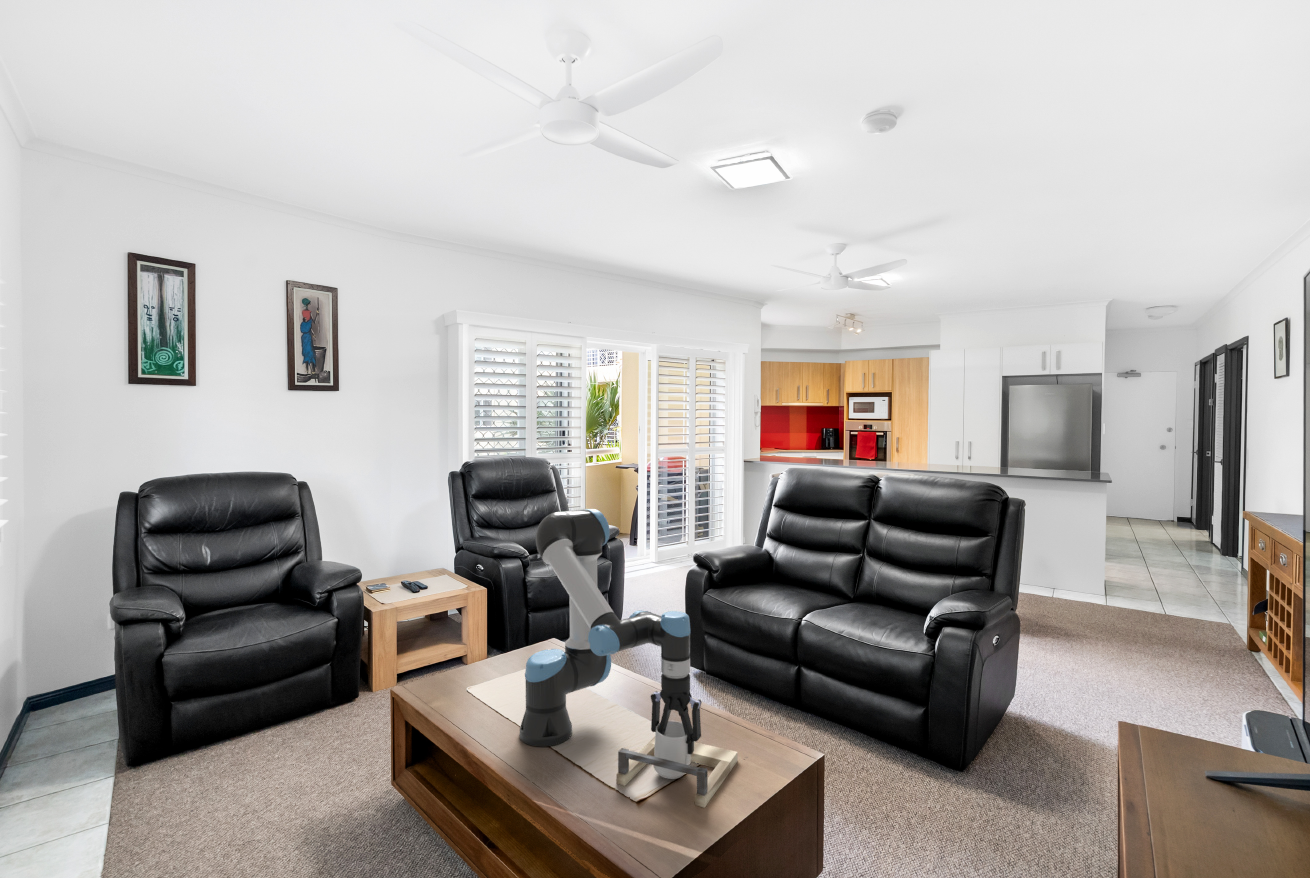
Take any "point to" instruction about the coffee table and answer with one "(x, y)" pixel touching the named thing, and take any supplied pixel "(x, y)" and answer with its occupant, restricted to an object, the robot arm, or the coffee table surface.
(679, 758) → the mug
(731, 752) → the beige and grey frame
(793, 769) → the coffee table surface
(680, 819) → the coffee table surface
